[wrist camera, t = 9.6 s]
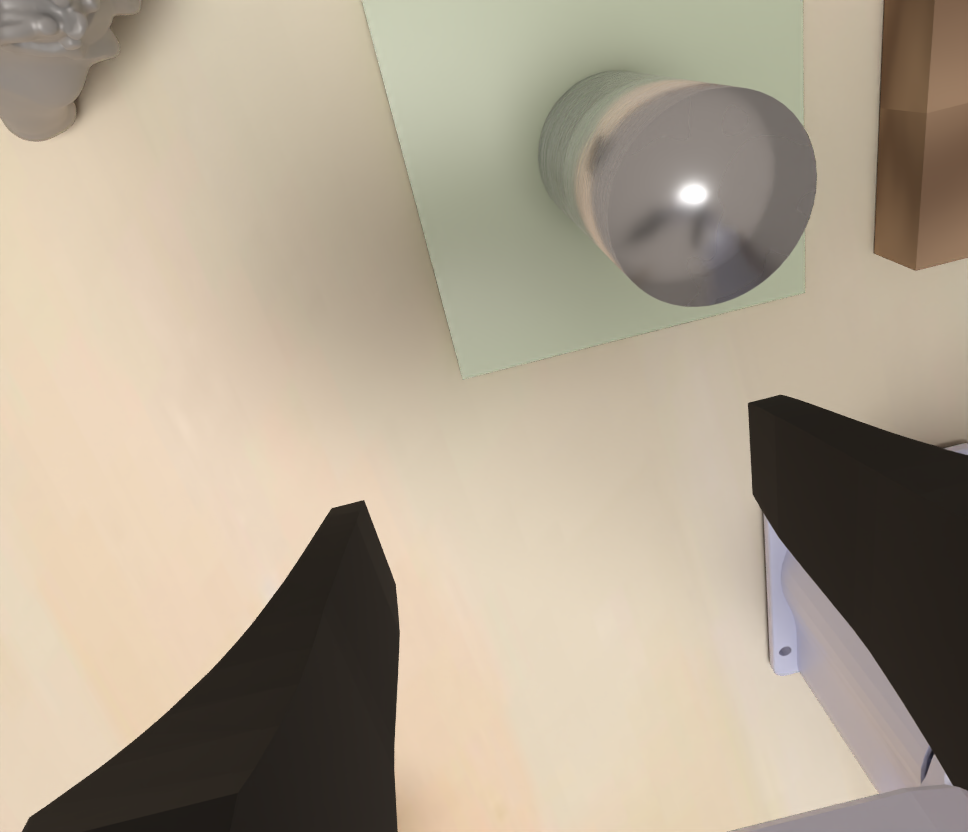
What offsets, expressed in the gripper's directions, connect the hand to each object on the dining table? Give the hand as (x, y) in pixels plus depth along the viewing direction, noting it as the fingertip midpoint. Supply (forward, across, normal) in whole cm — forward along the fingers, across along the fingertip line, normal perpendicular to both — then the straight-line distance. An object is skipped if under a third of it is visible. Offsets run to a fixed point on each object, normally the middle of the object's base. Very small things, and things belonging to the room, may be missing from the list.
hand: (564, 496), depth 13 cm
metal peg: (+9, -4, -4) cm, 11 cm away
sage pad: (+10, -4, -4) cm, 11 cm away
